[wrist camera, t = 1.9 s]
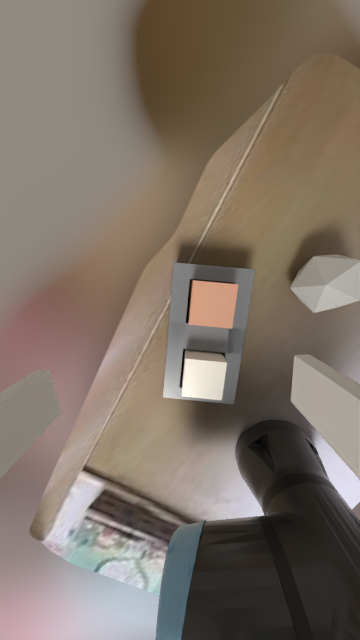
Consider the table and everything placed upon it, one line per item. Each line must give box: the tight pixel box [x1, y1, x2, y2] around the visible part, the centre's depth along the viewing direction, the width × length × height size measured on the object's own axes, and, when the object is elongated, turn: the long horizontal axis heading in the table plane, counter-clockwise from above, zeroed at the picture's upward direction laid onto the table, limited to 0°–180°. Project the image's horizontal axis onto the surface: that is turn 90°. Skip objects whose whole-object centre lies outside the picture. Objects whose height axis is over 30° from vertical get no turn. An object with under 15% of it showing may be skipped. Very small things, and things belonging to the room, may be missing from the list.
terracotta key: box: [188, 280, 239, 329], centre depth 26 cm, size 6×6×5 cm
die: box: [290, 254, 360, 313], centre depth 26 cm, size 8×9×10 cm
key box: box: [163, 262, 255, 404], centre depth 29 cm, size 12×22×4 cm, turn 175°
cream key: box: [182, 349, 227, 400], centre depth 28 cm, size 6×6×5 cm
